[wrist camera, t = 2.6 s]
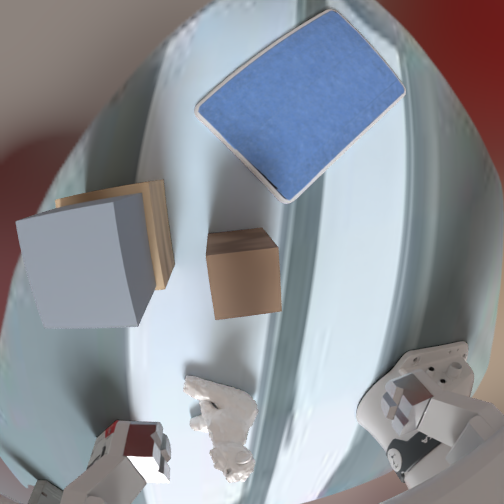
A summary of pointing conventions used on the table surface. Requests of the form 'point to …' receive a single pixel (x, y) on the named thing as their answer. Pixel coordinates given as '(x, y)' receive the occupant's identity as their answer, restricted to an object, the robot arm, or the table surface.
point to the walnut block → (243, 273)
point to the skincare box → (45, 493)
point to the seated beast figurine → (224, 424)
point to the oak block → (154, 221)
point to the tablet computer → (301, 103)
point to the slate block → (89, 263)
